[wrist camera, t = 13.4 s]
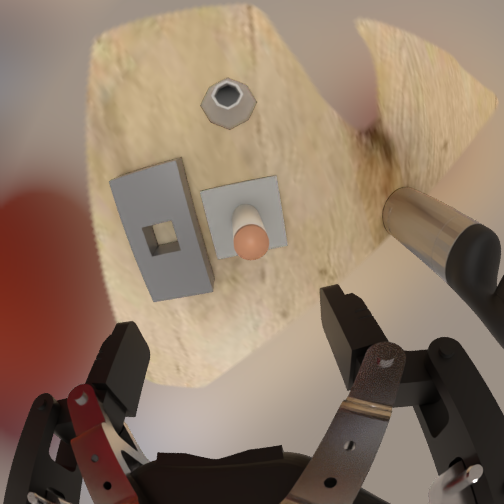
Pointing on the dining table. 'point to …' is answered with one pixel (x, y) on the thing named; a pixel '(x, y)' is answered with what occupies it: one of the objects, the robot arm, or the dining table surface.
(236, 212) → the plug
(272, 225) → the mat
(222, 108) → the flask
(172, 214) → the grey socket block
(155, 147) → the dining table surface
